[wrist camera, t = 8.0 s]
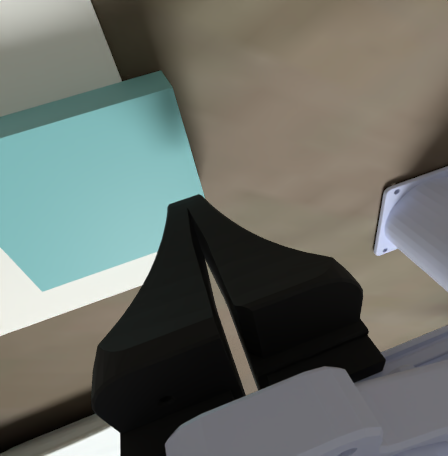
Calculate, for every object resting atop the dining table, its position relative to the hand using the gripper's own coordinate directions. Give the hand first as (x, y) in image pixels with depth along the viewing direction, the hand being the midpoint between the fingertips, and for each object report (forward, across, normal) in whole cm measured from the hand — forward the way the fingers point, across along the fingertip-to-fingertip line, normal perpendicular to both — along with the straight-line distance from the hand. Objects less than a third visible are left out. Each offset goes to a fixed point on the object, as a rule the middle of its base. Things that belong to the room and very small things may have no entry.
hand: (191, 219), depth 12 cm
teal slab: (+6, -1, 0) cm, 6 cm away
